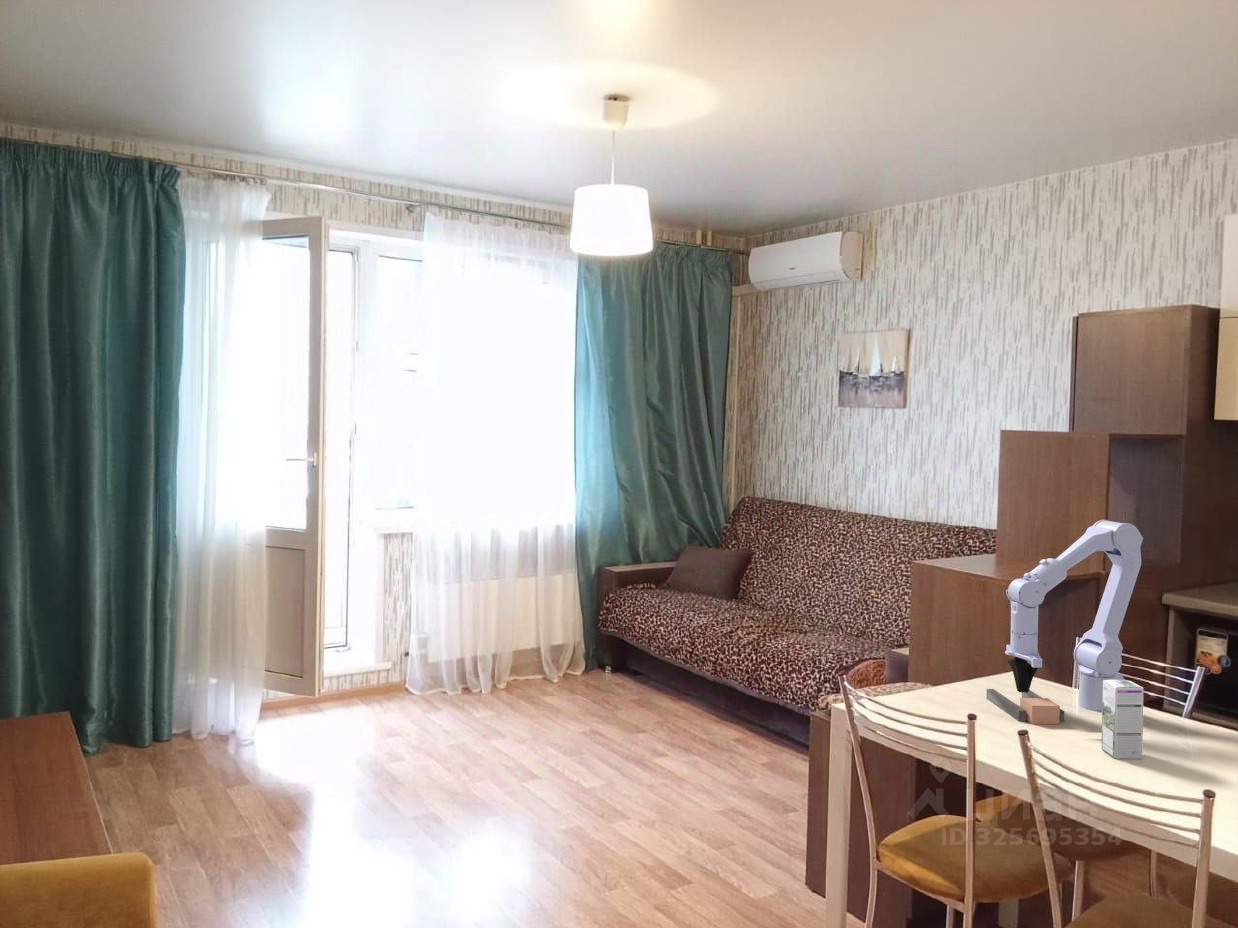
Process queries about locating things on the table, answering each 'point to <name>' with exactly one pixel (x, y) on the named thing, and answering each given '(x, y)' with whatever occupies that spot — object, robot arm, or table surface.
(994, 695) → the grey parallel rails
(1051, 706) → the terracotta block
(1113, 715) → the syrup box
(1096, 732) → the table surface
